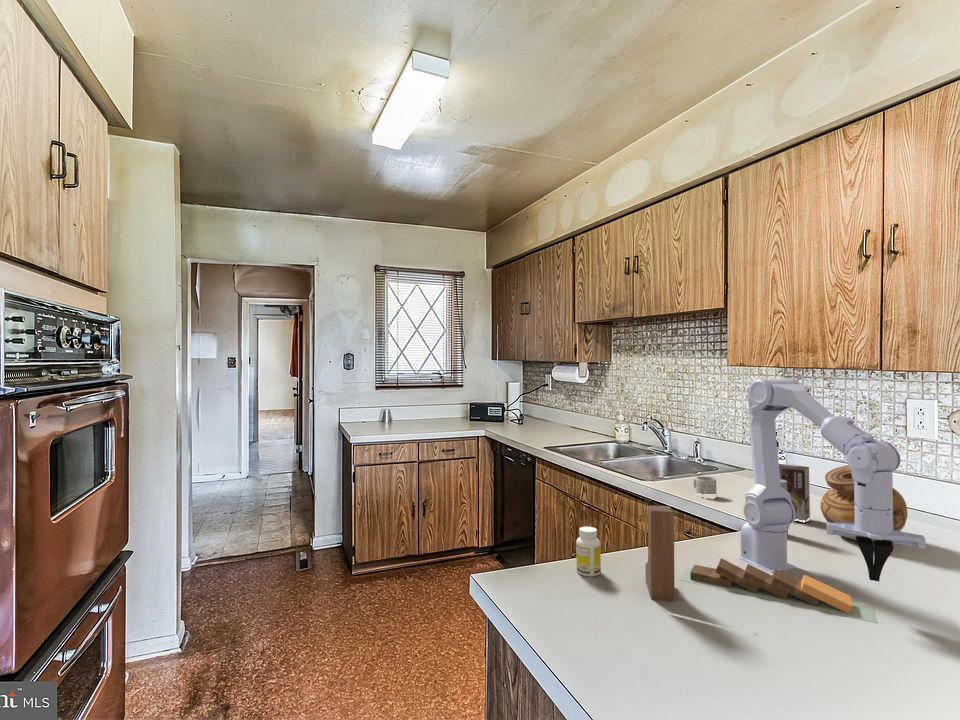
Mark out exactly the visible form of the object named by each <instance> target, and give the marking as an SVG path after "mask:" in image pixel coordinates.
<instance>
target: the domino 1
mask: <svg viewBox="0 0 960 720" xmlns="http://www.w3.org/2000/svg"><path fill="white" fill-rule="evenodd" d="M716 569H717V568H714V567H710V566H704V565H698V564H694V565H693V567H692V570H691V572H690V580H695V581H700V582H704V583H709V584H714V585H718V586H723V587H728V588H731V587H732V584H733V581H731V580H729V579H727V578H725V577H723V576H722V575H720V574H718V573H716V572H715V571H716Z"/></svg>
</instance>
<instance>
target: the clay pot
mask: <svg viewBox="0 0 960 720" xmlns="http://www.w3.org/2000/svg"><path fill="white" fill-rule="evenodd" d="M824 479H825V481H826V483H827V486H828V487H830V489H828V490H827V491H826V492H825V493H824V494H823V496H822V498H821V499H820V500H821V501H820V510H821V513H822V516H823V517H824V519H825V521H826V523H827V522H830V523H841V524H855V513H854V480H853V478H852V471H851V469H850V467H849V466H848V464H847V465H843V466H839V467H836V468H834V469H832V470H830V471H828V472H826V474H825V476H824ZM908 514H909V513H908V506H907V502H906V500H905V499H904V497H903V495H902V494H901V493H900V492H899V491H898V490H897V489H895V488H894V487H893V530H897V531H901V532H902V530H903V529H904V527H905V525H906V522H907V519H908ZM843 537H845V538H847V539H849V538H850V539H849V540H852V539H853V540H852V541H856V538H854V537H848V536H843ZM872 542H873V540H872ZM873 543H874V542H873Z"/></svg>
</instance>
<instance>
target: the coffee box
mask: <svg viewBox="0 0 960 720" xmlns="http://www.w3.org/2000/svg"><path fill="white" fill-rule="evenodd" d="M779 472H780V479H781V480H786V481H787V492H788V493H789V494H790V498H791V502H792V505H793V507H794V509H795V519H799V520H805V521H806V520H807V519H808V518H809V517H810V518H811V505H810V503H811V502H810V499H811V498H810V467H809V466H805V465H803V466H802V465H795V464H785V463H779Z"/></svg>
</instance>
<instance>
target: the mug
mask: <svg viewBox="0 0 960 720" xmlns="http://www.w3.org/2000/svg"><path fill="white" fill-rule="evenodd" d="M692 482H693V483H692V485H693V489H694V488H695V489H696V491H695V493H696V492H697V493H701V494H716V495H717V478H716V477H711V476H703V475H702V476H700V475H699V476H696V477H694V478H693V481H692Z"/></svg>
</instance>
